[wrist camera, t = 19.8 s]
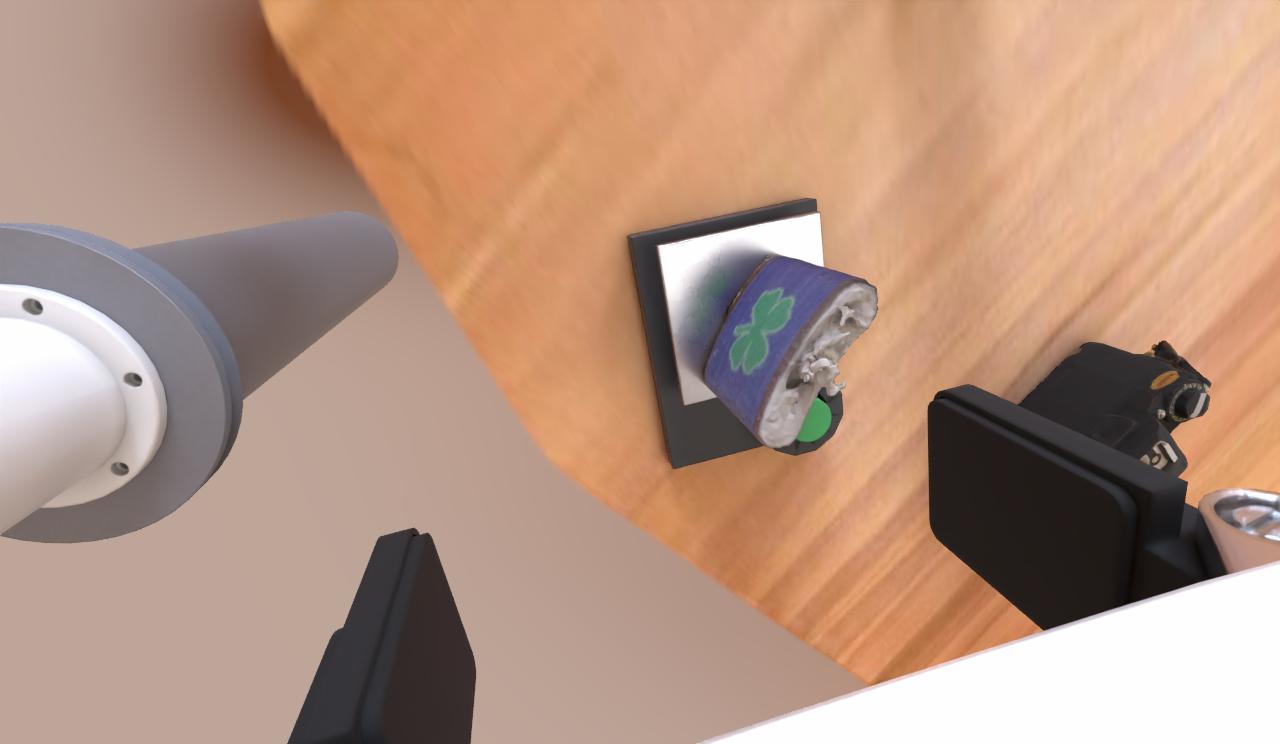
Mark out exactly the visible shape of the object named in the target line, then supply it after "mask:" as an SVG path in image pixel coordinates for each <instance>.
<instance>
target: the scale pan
mask: <svg viewBox="0 0 1280 744" xmlns="http://www.w3.org/2000/svg"><path fill="white" fill-rule="evenodd" d="M655 251H656V257H657V263H658V269H659V275H660V281H661V287H662V293H663V298H664V304H665V310H666V316H667V322H668V328H669V334H670V340H671V345H672V351H673V357H674V363H675V369H676V375H677V381H678V387H679V393H680V398H681V402H682V403H683V405H689V404H693V403H697V402H701V401H705V400H709V399H713V398H717V396H716V395H715V394H714V393H713V392H712V391H711V390H710V389H709V388H708V387H707V385H706V383H705V380H704V374H703V372H704V367H705V362H706V359H707V355H708V354H709V352H710V348H711V347H712V344H713V342H714V340H715V339H716V335H717V334H718V332H719V330H720V327H721V325H722V322H723V321H724V320H725V318H726V316H727V314H728V310H729V308H730V306H732V304H733V302H734V299H735V298H736V296H737V295H738V293H739V292H740V291H741V290H742V289H743V286H744V284H745V283H746V282H747V281H748V280H749V278H750V277H751V276H752V275H753V273H754V272H755V270H756V269H757V268H758V267H759V266H760V265H761V264H763V263H764V262H765V260H766V259H768V258H770V257H772V256H774V255H778V256H787V257H792V258H796V259H800V260H803V261H806V262H810V263H812V264H815V265H818V266H823V267H824V256H823V243H822V229H821V216H820V212H815V211H813V212H809V213H804V214H799V215H794V216H790V217H785V218H780V219H776V220H771V221H766V222H761V223H757V224H752V225H747V226H742V227H738V228H733V229H728V230H724V231H719V232H714V233H709V234H705V235H700V236H695V237H690V238H686V239H681V240H676V241H672V242H667V243H662V244H657V245H655Z"/></svg>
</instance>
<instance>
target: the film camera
mask: <svg viewBox="0 0 1280 744" xmlns="http://www.w3.org/2000/svg"><path fill="white" fill-rule="evenodd" d="M1080 348H1082V352H1081V353H1078V354H1074V355H1072V356H1069V357H1068V358H1066V359H1064V361H1063V362H1061V364H1060V366H1058V367H1056V368H1055V369H1054V370H1053V371H1052V372H1051V374H1050V375H1049V376H1048V377H1047V378H1046V379H1045V380H1044V381H1043V382H1041V383H1040V384H1039V385H1038V386H1037V388H1036V389H1034V391H1033V392H1031V394H1029V395H1028V396H1027V397H1026V399H1025V400H1023V401H1022V403H1020V404H1019V405H1018V406H1020V407H1022V408H1024V409H1027V410H1029V411H1031V412H1033V413H1036V414H1038V415H1040V416H1042V417H1044V418H1047V419H1049V420H1051V421H1053V422H1056V423H1058V424H1060V425H1062V426H1064V427H1067V428H1069V429H1071V430H1073V431H1076V432H1078V433H1080V434H1082V435H1084V436H1087V437H1089V438H1091V439H1093V440H1096V441H1098V442H1100V443H1102V444H1104V445H1107V446H1109V447H1111V448H1113V449H1116V450H1118V451H1120V452H1122V453H1124V454H1127V455H1129V456H1131V457H1133V458H1136V459H1138V460H1140V461H1142V462H1144V463H1147V464H1149V465H1151V466H1153V467H1156V468H1158V469H1160V470H1162V471H1164V472H1167V473H1169V474H1171V475H1173V476H1176V477H1178V476H1179V475H1180V474H1181V473H1182V472H1183V471H1184V470H1185V469H1186V468H1187V465H1188V463H1187V459H1186V457H1185V455H1184V454H1183V453H1182V451H1181V450H1180V449H1179V447H1178V446H1177V444H1176V443H1175V441H1174V439H1173V438H1172V436H1171V435H1170V433H1171V432H1172V431H1173V430H1174V429H1175V428H1176V427H1177V426H1178V425H1179V424H1180V423H1182V422H1186V421H1188V420H1190V419H1193V418H1197V417H1200V416H1203V415H1204V413H1205V412H1206V411H1207V409H1208V406H1209V401H1210V397H1209V395H1208V394H1207V392H1208V391H1209V389H1210V386H1211V382H1210V381H1209V380H1208V379H1206V378H1205V377H1203V376H1202V375H1201V374H1200V373H1199V372H1197V371H1196V370H1195V369H1194V368H1193V367H1192V366H1191V365H1190V364H1189V363H1188V362H1187V361H1186V360H1185V359H1184V358H1183V357H1181V356H1178V354H1177V352H1176V351H1175V350H1174V349H1173V348H1172V346H1171V345H1170V344H1169V343H1168V342H1166V341H1161V342H1159V344H1158V346H1157V345H1155V344H1154V345H1153V346H1152V349H1151V350H1150V351H1148V352H1146V353H1144V354H1132V353H1129V352H1126V351H1123V350H1120V349H1117V348H1114V347H1111V346H1108V345H1106V344H1102V343H1095V342H1089V343H1085V344H1083V345H1082V346H1081V347H1080Z"/></svg>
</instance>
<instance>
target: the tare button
mask: <svg viewBox="0 0 1280 744" xmlns="http://www.w3.org/2000/svg"><path fill="white" fill-rule="evenodd" d="M830 424H831V411H830V409H829V407H828V406H827V404H826V403H824V402H823V401H822V400H820V399H819V398H817V397H816V398H815V400H814V402H813V404H812V406H811V408H810V410H809V413H808V416H807V417H806V419H805V421H804V423H803V426H802V429H801V431H800V433H799V434H798V436H797V437H796V439H797V440H799V441H802V442H811V441H815V440H817V439H819V438H820V437H822V436H823V435H824V434H825V433H826V432H827V430H828V428H829V426H830Z"/></svg>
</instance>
